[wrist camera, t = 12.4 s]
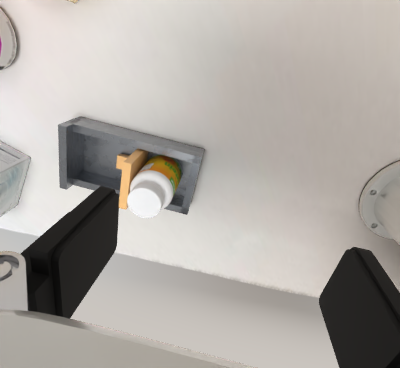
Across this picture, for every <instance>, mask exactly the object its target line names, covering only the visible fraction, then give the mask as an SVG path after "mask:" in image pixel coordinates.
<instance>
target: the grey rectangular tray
mask: <svg viewBox="0 0 400 368" xmlns="http://www.w3.org/2000/svg"><path fill="white" fill-rule="evenodd" d="M58 133H59V176H60V188H63V189H68V188H69V187H71V186H72V185H76V186H80V187H83V188H87V189H91V190H96V189H97V188H99V187H100V186H103V187H107V188H112V189H115V191H116V193H117V194H119V197H120V187H121V177H122V169H118V168H116V164H117V155H118V154H119V153H120V154H124V155H127V156H130V155H131V154H132V153H133V152H134V151H135V150H136V149H137V148H138V149H142V150H146V151H148V157H147V162H148V160H149V159H150V158H151V157H153V156H155V155H157V154H161V155H165V156H169V157H172V158H175V159H176V160H177V161H178V162H179V163H180V165H181V168H182V177H181V180H180V182H179V184H178V187H177V189H176V191H175V193H174V196H173V198H172V200H171V202H170V203H169V205H168V206H167V207H165V208H164V209H167V210H171V211H175V212H179V213H183V214H186V215H187V214H188V211H189V207H190V204H191V200H192V196H193V192H194V188H195V184H196V180H197V176H198V172H199V168H200V164H201V160H202V156H203V152H204V149H202V148H199V147H195V146H191V145H187V144H183V143H179V142H176V141H172V140H168V139H164V138H160V137H156V136H153V135H149V134H145V133H141V132H137V131H133V130H130V129H126V128H122V127H118V126H114V125H111V124H107V123H103V122H99V121H95V120H91V119H88V118H84V117H77V118H75V119H72V120H69V121H67V122H64V123H62V124H59V125H58Z"/></svg>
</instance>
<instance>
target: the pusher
mask: <svg viewBox="0 0 400 368" xmlns="http://www.w3.org/2000/svg"><path fill="white" fill-rule="evenodd" d="M147 157H148V151H146V150H142V149H138V148H137V149H136V150H135V151H134V152H133V153H132V154H131V155H130V156H127V155H124V154H120V153H119V154H118V155H117V164H116V168H118V169H122V177H121V187H120V197H119V208H122V209H125V210H126V209H127V208H128V204H127V198H128V195H129V193H130V185H131V182H132V180H133V179H134V177H135V176H136V175H137V174H138V172H139V171H140V170H141V169H142V167H143V166H144V165H145V164H146V163H147Z"/></svg>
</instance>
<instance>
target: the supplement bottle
mask: <svg viewBox="0 0 400 368" xmlns="http://www.w3.org/2000/svg"><path fill="white" fill-rule="evenodd" d="M181 177H182V168H181V165H180V163H179V162H178V161H177V160H176V159H175V158H172V157H169V156H165V155H161V154H157V155H155V156H153V157H151V158H150V159H149V160H148V162H147V163H146V164H145V165H144V166H143V167H142V169H141V170H140V171H139V172H138V174H137V175H136V176H135V177H134V179H133V180H132V182H131V185H130V193H129V195H128V198H127V204H128V207H129V209H130V210H131V211H132V212H133V213H134V214H135V215H137V216H139V217H142V218H152V217H154V216H156V215H157V214H158V213H159V212H160V210H162V209H164V208H165V207H167V206H168V205H169V203H170V202H171V200H172V198H173V196H174V193H175V191H176V189H177V187H178V184H179V182H180V180H181Z"/></svg>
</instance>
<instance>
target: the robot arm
mask: <svg viewBox="0 0 400 368" xmlns="http://www.w3.org/2000/svg"><path fill="white" fill-rule="evenodd" d="M118 212H119V194H117V193H116V191H115V189H112V188H107V187H103V186H100V187H99V188H97V189H96V190H95V191H94V192H93V193H92V194H91V195H89V196H88V197H87V198H86V199H85V200H84V201H82V202H81V203H80V204H79V205H78V206H77V207H76V208H74V209H73V210H72V211H71V212H69V213H67V214H66V215H65V216H64V217H62V218H61V219H60V220H59V221H58V222H57V223H56V224H54V225H53V226H52V227H51V228H50V229H49V230H47V231H46V232H45V233H44V234H43V235H42V236H40V237H39V238H38V239H37V240H36V241H35V242H34V243H32V244H31V245H30V246H29V247H28V248H27V249H26V250H24V251H23V252H22V253H21V254H19V253H16V252H10V251H2V252H0V368H256V367H252V366H249V365H245V364H241V363H237V362H234V361H230V360H226V359H223V358H219V357H215V356H212V355H208V354H204V353H200V352H196V351H193V350H189V349H186V348H182V347H178V346H174V345H170V344H167V343H163V342H159V341H155V340H151V339H148V338H144V337H140V336H136V335H132V334H129V333H125V332H121V331H117V330H113V329H110V328H105V327H102V326H97V325H93V324H89V323H85V322H81V321H77V320H73V319H70V318H71V316H72V315H73V313H74V312H75V310H76V308H77V307H78V306H79V304H80V303H81V301H82V300H83V298H84V297H85V295H86V294H87V292H88V291H89V289H90V288H91V286H92V284H93V283H94V282H95V280H96V279H97V277H98V276H99V274H100V273H101V271H102V270H103V268H104V267H105V265H106V264H107V263H108V261H109V260H110V258H111V257H112V255H113V254H114V252H115V250H116V246H117V232H118ZM359 212H360V215H361V218H362V220H363V221H364V223H365V224H366V226H367V227H368V228H369V229H370V230H371V231H373V232H374V233H375V234H377V235H379V236H381V237H384V238H388V239H392V240H395V241H396V242H397V243H398V244H399V245H400V161H398V162H396V163H393V164H391V165H389V166H388V167H386V168H384V169H383V170H381V171H380V172H379V173H377V174H376V175H375V176H374V177H373V178H372V179H371V180H370V181H369V182H368V184H367V185H366V187H365V188H364V190H363V192H362V195H361V197H360V202H359ZM319 305H320V308H321V311H322V314H323V317H324V321H325V323H326V327H327V330H328V333H329V336H330V340H331V343H332V346H333V349H334V352H335V355H336V358H337V362H338V365H339V367H340V368H400V293H399V291H398V290H397V288H396V287H395V285H394V284H393V282H392V281H391V279H390V278H389V277H388V275H387V274H386V272H385V271H384V269H383V268H382V266H381V265H380V263H379V262H378V260H377V259H376V257H375V256H374V255H373V253H372V252H371V251H369V250H365V249H361V248H357V247H353V248H351V249H348V250H346V251H345V253H344V255H343V256H342V258H341V260H340V262H339V264H338V265H337V267H336V269H335V271H334V272H333V274H332V276H331V278H330V279H329V281H328V283H327V285H326V286H325V288H324V290H323V292H322V293H321V295H320V298H319Z"/></svg>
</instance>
